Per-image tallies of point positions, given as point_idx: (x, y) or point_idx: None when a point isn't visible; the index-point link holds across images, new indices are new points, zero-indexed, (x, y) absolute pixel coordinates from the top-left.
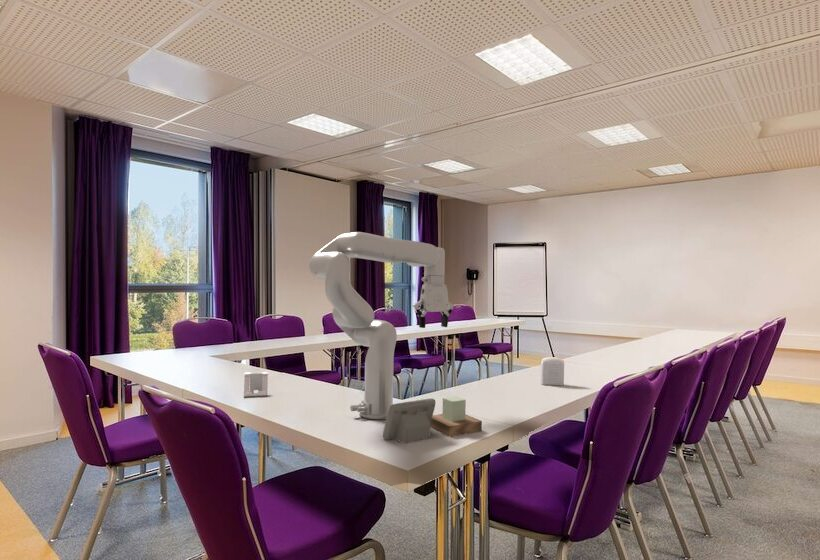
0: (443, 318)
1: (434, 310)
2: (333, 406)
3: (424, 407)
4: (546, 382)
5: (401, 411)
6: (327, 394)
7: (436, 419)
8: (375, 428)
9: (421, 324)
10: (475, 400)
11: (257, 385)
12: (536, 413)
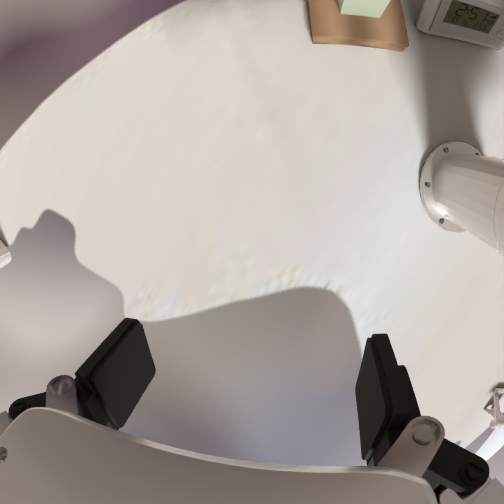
0: (116, 395)
1: (261, 474)
2: (482, 294)
3: (447, 1)
4: (4, 248)
5: (495, 16)
6: (433, 378)
7: (399, 15)
8: (493, 104)
9: (401, 366)
10: (158, 194)
11: (494, 412)
12: (110, 50)
